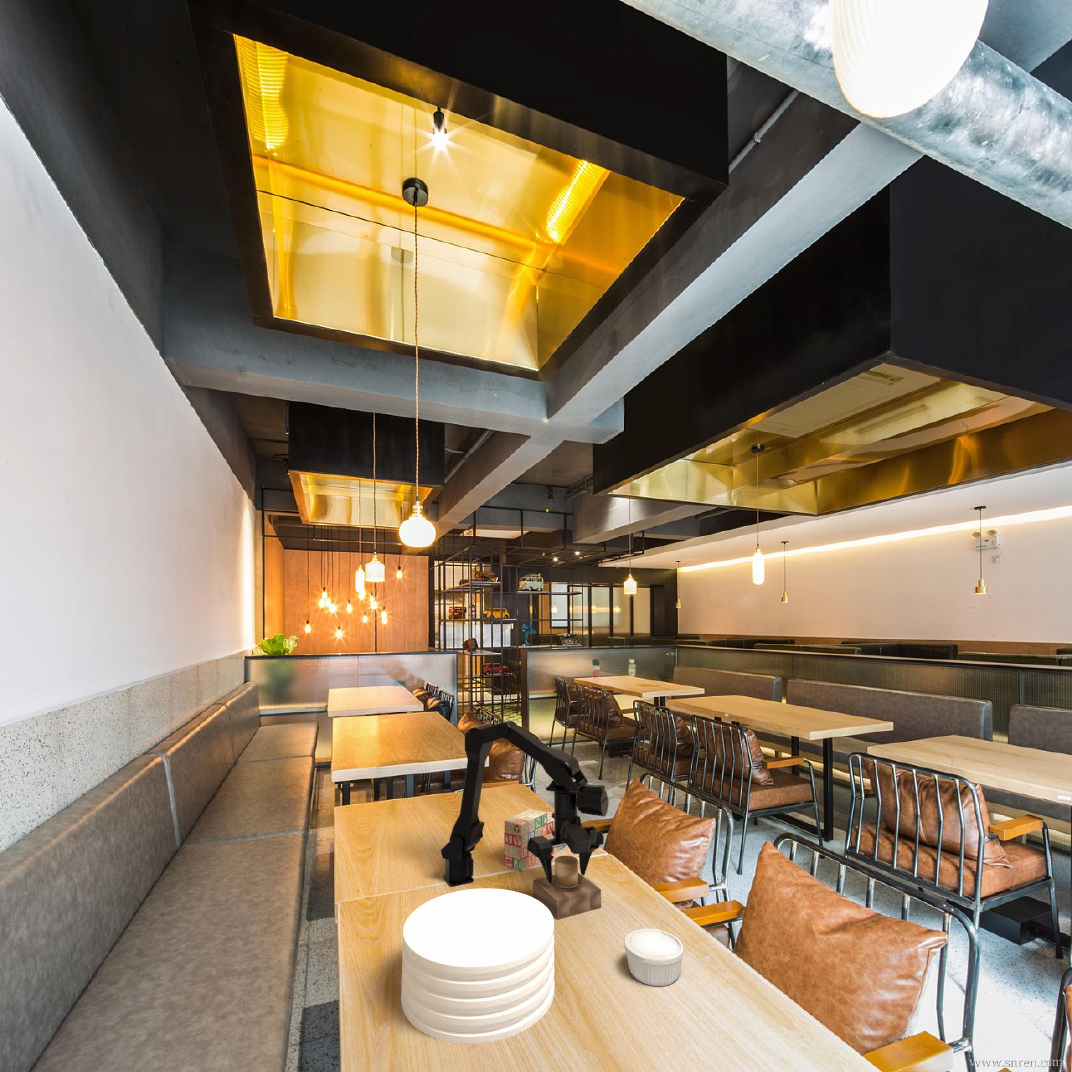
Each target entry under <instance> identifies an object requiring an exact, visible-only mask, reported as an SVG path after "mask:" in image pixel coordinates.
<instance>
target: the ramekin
mask: <svg viewBox="0 0 1072 1072" xmlns="http://www.w3.org/2000/svg"><path fill="white" fill-rule="evenodd" d="M681 941H682V940H680V939H679V938H678V937H676V935H673V934H672V933H670V932H667V931H664V930H661V929H657V928H640V929H636V930H632V931H630V932H629V933H628V934H627V935H626V936H625V938H624V940H623V945H624V950H625V955H626V958H627V964H628V970H629V971H630V973H631V974H632V976H633V977H634V978H635V979H636V980H638V981H639V982H641V983H643V984H645V985H648V986H652V987H665V986H669V985H672V984H673V983H675V982H676V981H677V980H678V978H679V977H680V975H681V974H680V973H681V967H682V960H683V956H684V953H685V952H684V951H685V950H684V948H685V947H684V945H683V942H681Z"/></svg>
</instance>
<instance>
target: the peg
mask: <svg viewBox="0 0 1072 1072" xmlns="http://www.w3.org/2000/svg"><path fill="white" fill-rule="evenodd" d="M578 860H579V859H578V858H577V857H575V856H572V855H561V856H557V857H555V859H554V875H555V886H556V887H557V888H559V889H563V890H571V889H575V888H576V887H577V886H578V873H579V865H578V864H579V863H578V862H579V861H578Z"/></svg>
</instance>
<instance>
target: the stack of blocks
mask: <svg viewBox="0 0 1072 1072" xmlns="http://www.w3.org/2000/svg"><path fill="white" fill-rule="evenodd" d="M552 813H554V812H553V811H547V812H546V811H542V810H536V809H534V808H529V809H526V810H524V811H522V812H520V813H519V814H516V815H513V816H511V817H509V818H508V819H504V832H503V833H504V834H503V835H504V836H503V838H504V840H503V841H504V842H503V843H504V857H503V858H504V867H506V866H507V868H509V869H512V870H513V869H514V870H516V871H519V872H523V871H525V870H527V869H529V868H530V867H533V866H535V865H536V864H538V863H541V862H540V860H539V858H538V857H536V856H535V855H533V854H532V853H531V852H530V851H528V850H527V843H528V840H529V839H530V838H532V837H537V836H544V837H545V838H547V839H548V840H549V839H554V836H553V835H552V831H553V830H554V818H552ZM564 848H566V845H565V846H560V847H555V848H553V852H552V853H551V855H552V856H553V855H554V854H556V853H557V852H560V851H561V850H563V849H564Z"/></svg>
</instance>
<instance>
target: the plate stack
mask: <svg viewBox="0 0 1072 1072" xmlns="http://www.w3.org/2000/svg"><path fill="white" fill-rule="evenodd" d="M554 933H555V920H554V916H553V915H552V914H551V912H550V911H549V909H548V908H547V907H546V906H545V905H544V904H542V903H541V902H540V901H538V900H536V899H535V898H533V896H530V895H528V894H525V893H522V892H518V891H515V890H509V889H503V888H489V887H487V888H485V887H484V888H471V889H463V890H457V891H453V892H448V893H446V894H442V895H440V896H437V897H434V898H432V899H430V900H428V901H425V903H423V904H421V905H420V906H418V907H417V908H416V909H414V910H413V911H412V912H411V913H410V914H409V915H408V917H407V919H406V920H405V922H404V925H403V928H402V947H401V948H402V949H401V950H402V952H401V953H402V956H401V957H402V959H401V960H402V961H401V984H400V985H401V992H400V1006H401V1009H402V1012H403V1014H404V1016H405V1018H406V1017H407V1018H406V1019H407V1020H408V1021H410V1022H411V1023H410V1022H409V1023H410V1024H411V1025H412V1026H413V1027H414V1028H416V1029H417V1030H418V1031H420V1032H422V1033H423V1034H425V1035H427V1036H429V1037H432V1038H434V1039H438V1040H441V1041H444V1042H448V1043H454V1044H455V1043H456V1044H468V1045H469V1044H482V1043H483V1044H485V1043H491V1042H496V1041H500V1040H504V1039H508V1038H511V1037H513V1036H516V1035H518V1034H520V1033H522V1032H523V1031H525V1030H527V1029H529V1028H531V1027H533V1026H534V1025H535V1024H536V1023H537V1022H539V1021H540V1020H541V1019H542V1018H543V1017H544V1016H545V1014H546V1013H547V1012H548V1011H549V1010H550V1007H551V1005H552V1003H553V1000H554V997H555V935H554Z"/></svg>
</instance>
